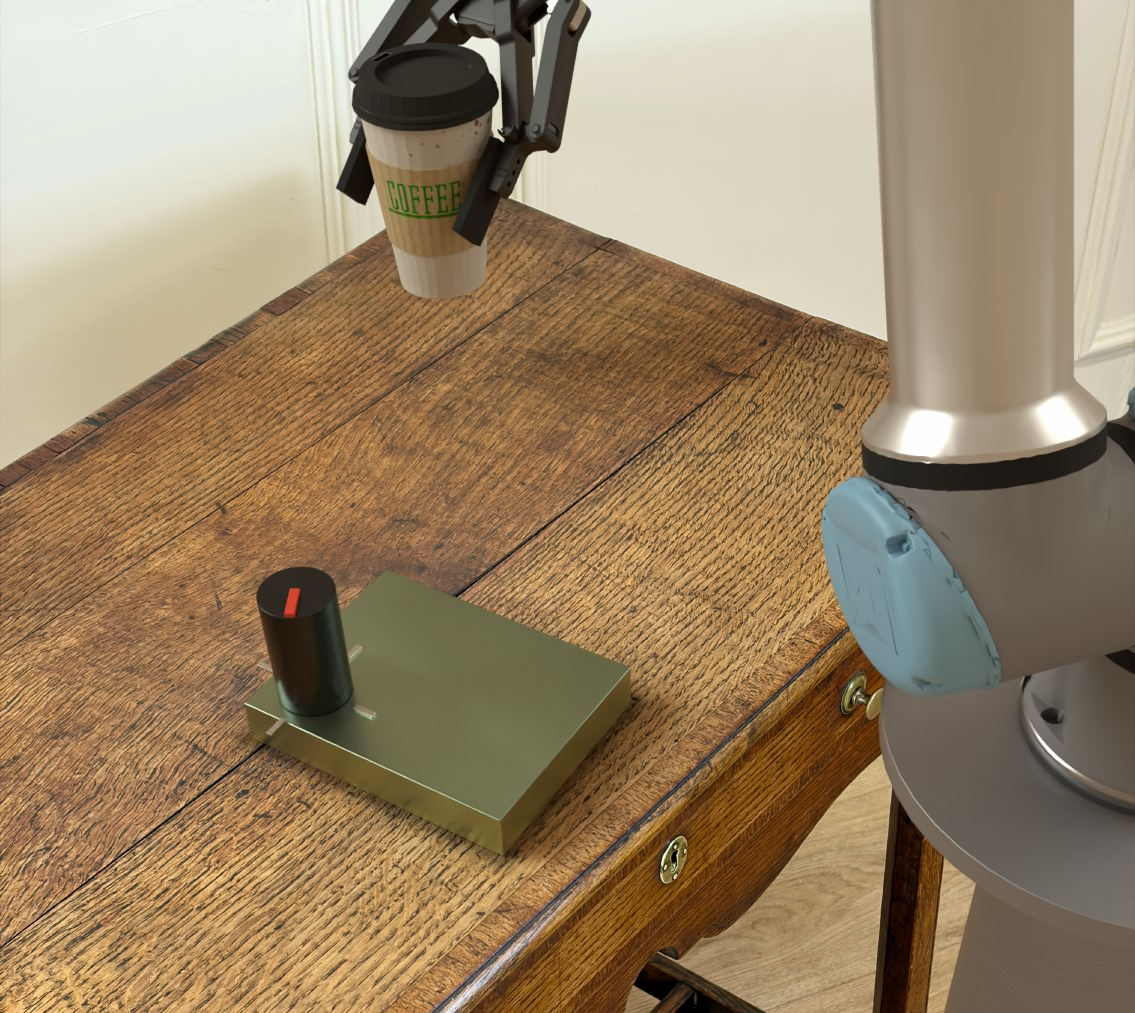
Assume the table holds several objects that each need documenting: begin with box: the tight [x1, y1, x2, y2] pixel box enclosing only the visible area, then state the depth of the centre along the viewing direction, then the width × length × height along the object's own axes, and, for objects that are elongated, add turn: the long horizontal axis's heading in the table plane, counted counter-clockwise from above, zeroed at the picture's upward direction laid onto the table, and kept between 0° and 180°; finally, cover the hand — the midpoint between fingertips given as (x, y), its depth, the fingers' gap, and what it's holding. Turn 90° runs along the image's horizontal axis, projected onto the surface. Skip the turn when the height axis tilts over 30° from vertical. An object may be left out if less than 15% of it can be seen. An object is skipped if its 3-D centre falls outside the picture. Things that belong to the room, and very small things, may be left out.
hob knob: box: [255, 566, 353, 716], centre depth 90 cm, size 4×4×8 cm
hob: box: [243, 569, 632, 857], centre depth 94 cm, size 19×15×3 cm
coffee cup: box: [351, 43, 500, 300], centre depth 110 cm, size 10×10×15 cm
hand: (407, 217), depth 109 cm, fingers closed on coffee cup, 10 cm apart
